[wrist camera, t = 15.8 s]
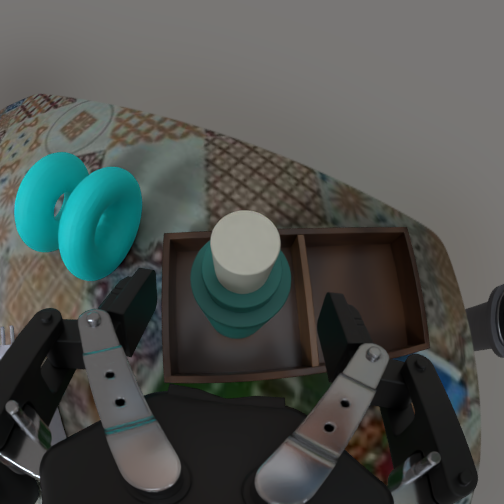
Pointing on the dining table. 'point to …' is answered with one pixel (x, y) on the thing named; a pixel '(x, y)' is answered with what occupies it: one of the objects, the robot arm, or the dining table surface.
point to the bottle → (241, 274)
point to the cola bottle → (17, 487)
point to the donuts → (79, 213)
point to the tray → (295, 305)
